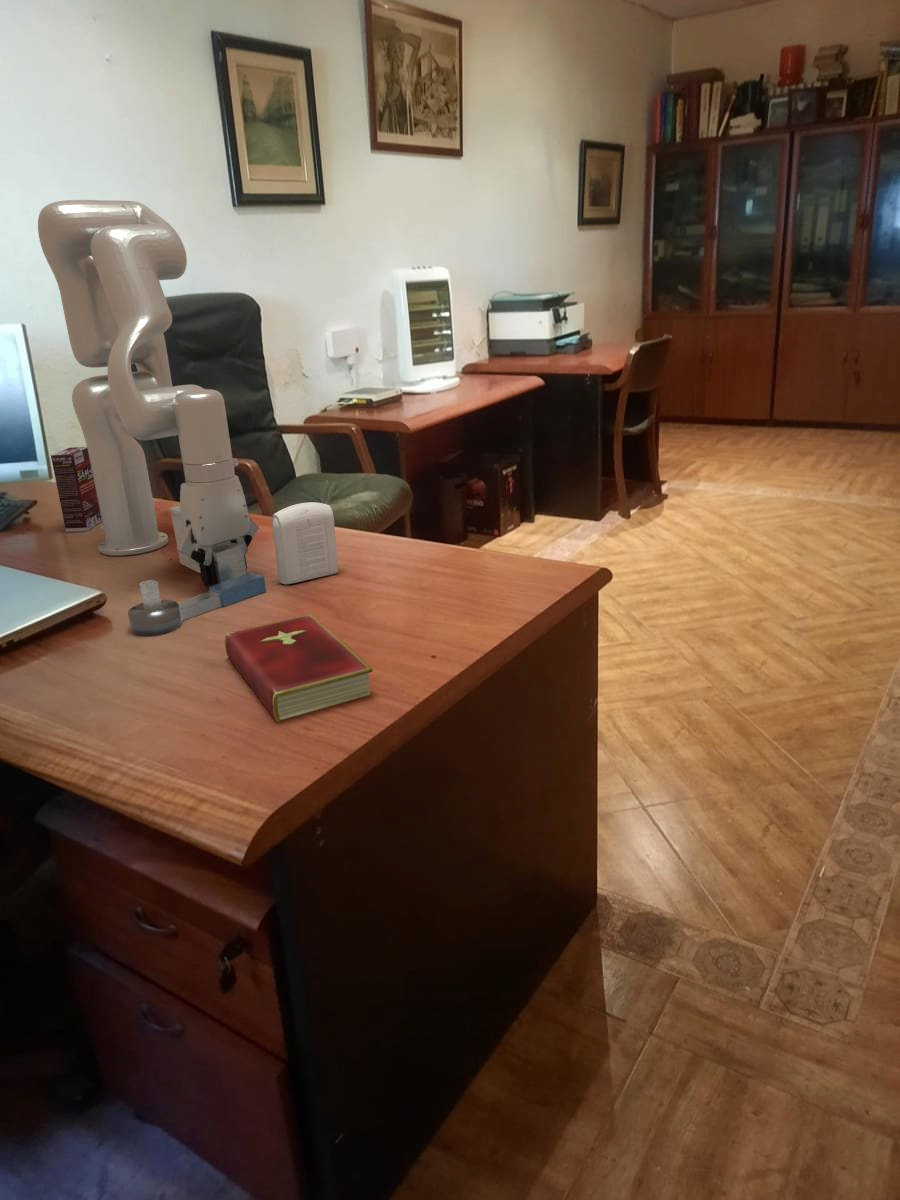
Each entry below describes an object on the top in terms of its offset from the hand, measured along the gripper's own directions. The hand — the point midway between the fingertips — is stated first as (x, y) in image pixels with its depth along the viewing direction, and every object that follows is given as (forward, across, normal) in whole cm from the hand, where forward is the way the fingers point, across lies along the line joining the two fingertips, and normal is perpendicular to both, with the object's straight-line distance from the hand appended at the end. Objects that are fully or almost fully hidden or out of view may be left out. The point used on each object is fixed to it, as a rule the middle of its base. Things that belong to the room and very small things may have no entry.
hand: (225, 580), depth 144 cm
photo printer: (+1, -10, +9) cm, 13 cm away
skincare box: (+1, -4, -11) cm, 12 cm away
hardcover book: (+1, +16, +37) cm, 40 cm away
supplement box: (+1, -5, -57) cm, 57 cm away
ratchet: (+1, +9, +7) cm, 12 cm away
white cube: (+1, 0, 0) cm, 1 cm away
